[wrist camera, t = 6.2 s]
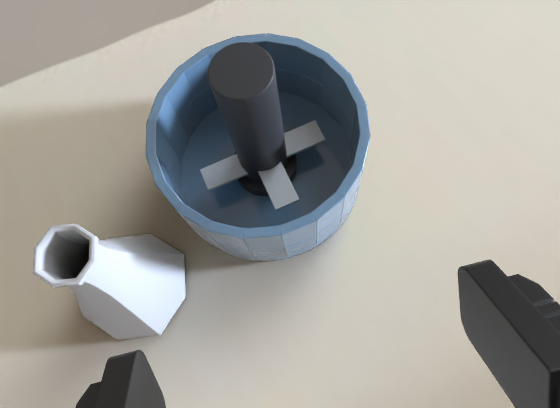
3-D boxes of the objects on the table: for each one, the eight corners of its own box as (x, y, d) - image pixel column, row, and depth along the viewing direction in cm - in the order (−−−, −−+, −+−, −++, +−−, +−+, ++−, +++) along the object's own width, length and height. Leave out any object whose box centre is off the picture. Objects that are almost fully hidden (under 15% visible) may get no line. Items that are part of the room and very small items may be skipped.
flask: (201, 245, 34) (156, 199, 24) (170, 352, 32) (108, 347, 22) (103, 224, 35) (23, 172, 25) (68, 327, 33) (-34, 312, 23)
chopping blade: (207, 229, 34) (151, 159, 22) (205, 118, 36) (154, 6, 25) (331, 219, 33) (338, 143, 22) (320, 108, 36) (321, -12, 24)
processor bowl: (175, 268, 34) (143, 246, 27) (175, 97, 38) (147, 44, 32) (370, 253, 33) (382, 227, 27) (349, 80, 37) (355, 24, 31)
